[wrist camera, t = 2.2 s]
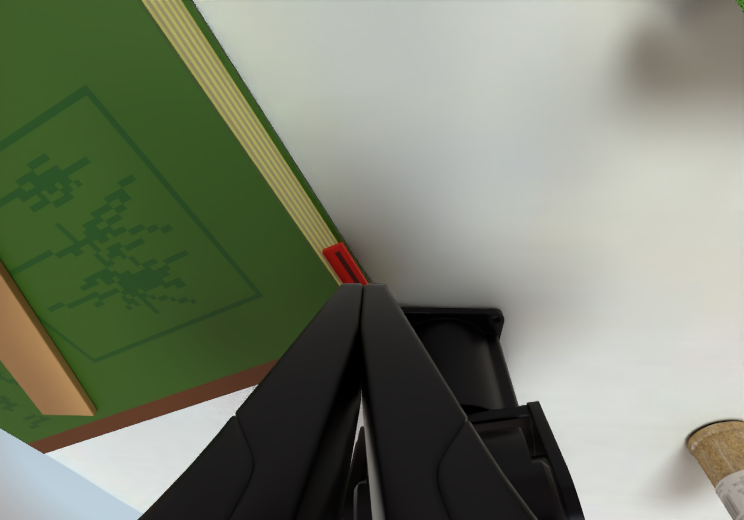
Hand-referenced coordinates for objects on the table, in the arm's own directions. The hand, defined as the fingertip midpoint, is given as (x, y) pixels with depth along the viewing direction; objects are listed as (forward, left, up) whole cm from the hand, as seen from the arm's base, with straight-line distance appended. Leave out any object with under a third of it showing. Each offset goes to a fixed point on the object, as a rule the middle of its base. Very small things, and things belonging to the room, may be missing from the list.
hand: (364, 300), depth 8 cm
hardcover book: (+15, +7, -12) cm, 20 cm away
